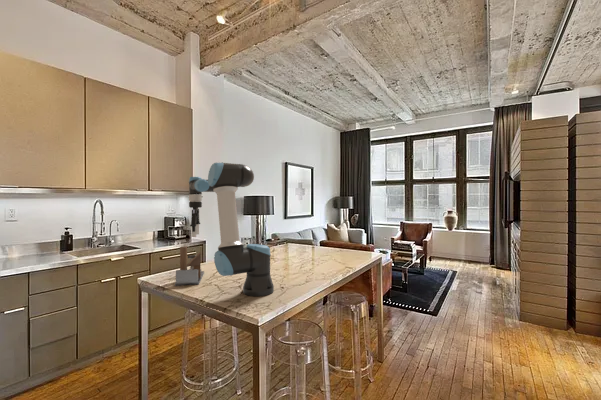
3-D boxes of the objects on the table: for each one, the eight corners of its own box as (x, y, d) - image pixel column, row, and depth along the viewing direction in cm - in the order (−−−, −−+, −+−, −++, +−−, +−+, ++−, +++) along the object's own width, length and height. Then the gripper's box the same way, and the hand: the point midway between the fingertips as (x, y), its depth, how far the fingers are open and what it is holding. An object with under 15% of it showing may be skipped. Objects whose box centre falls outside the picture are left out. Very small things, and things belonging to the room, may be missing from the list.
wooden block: (200, 278, 158) (200, 246, 158) (179, 280, 154) (179, 247, 154) (200, 276, 161) (200, 245, 161) (179, 278, 157) (179, 246, 157)
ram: (197, 273, 167) (197, 256, 166) (186, 274, 165) (186, 256, 165) (198, 271, 171) (198, 254, 171) (188, 272, 170) (188, 255, 170)
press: (198, 284, 150) (198, 269, 150) (174, 286, 148) (174, 270, 148) (204, 273, 173) (204, 260, 173) (183, 274, 171) (183, 261, 170)
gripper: (199, 201, 167) (199, 238, 168) (203, 201, 191) (203, 233, 191) (185, 201, 166) (185, 238, 166) (192, 201, 189) (192, 233, 189)
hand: (195, 235), depth 178 cm, fingers open, 11 cm apart
